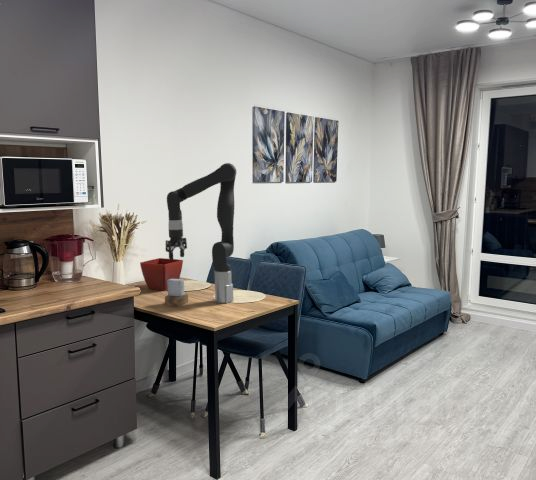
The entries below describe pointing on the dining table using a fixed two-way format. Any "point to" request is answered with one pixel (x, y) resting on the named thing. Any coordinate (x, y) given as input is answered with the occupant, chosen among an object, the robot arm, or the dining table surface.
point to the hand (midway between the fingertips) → (176, 258)
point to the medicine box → (175, 287)
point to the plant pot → (160, 272)
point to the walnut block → (176, 300)
